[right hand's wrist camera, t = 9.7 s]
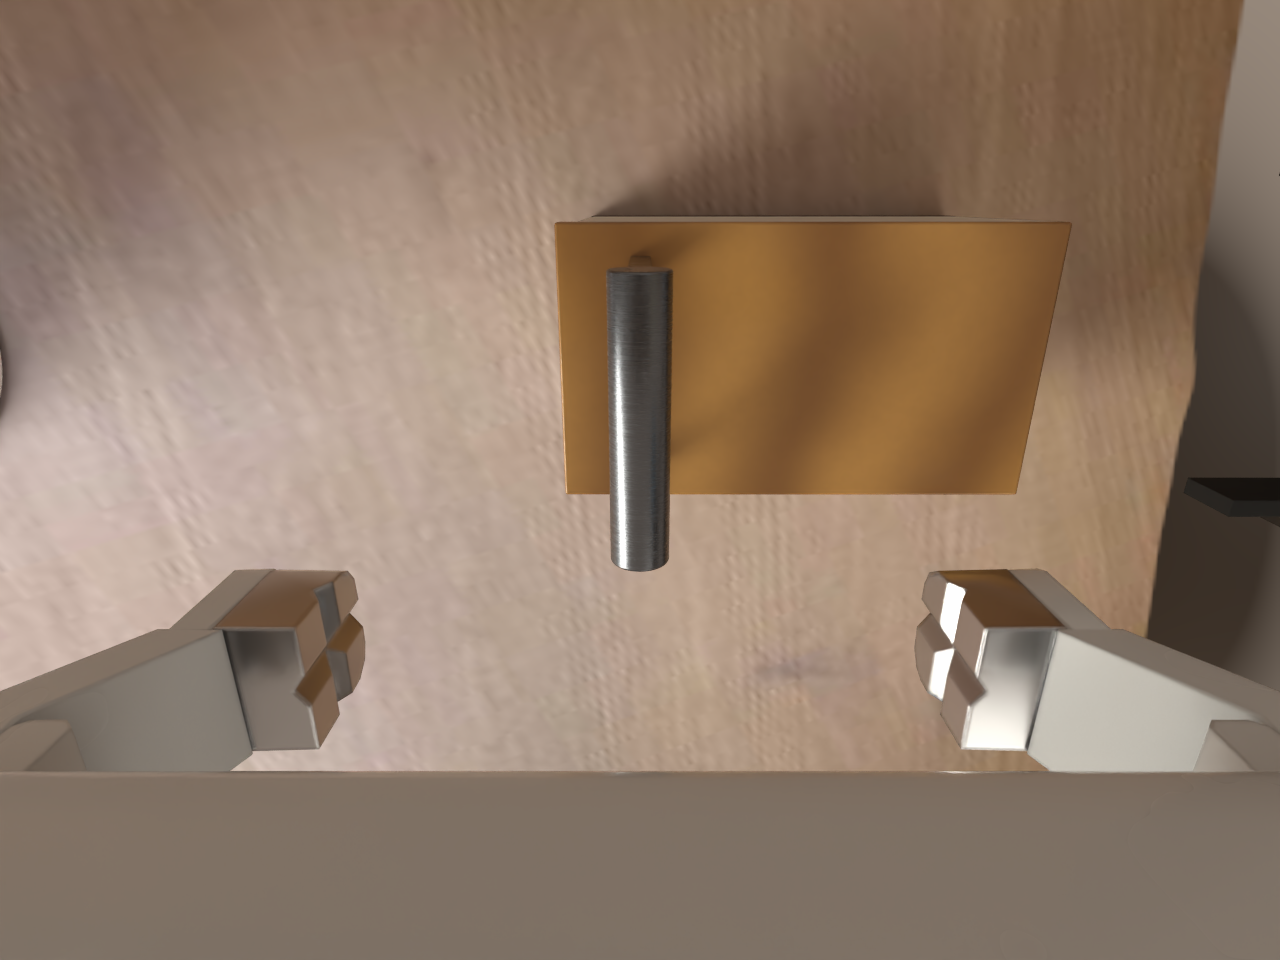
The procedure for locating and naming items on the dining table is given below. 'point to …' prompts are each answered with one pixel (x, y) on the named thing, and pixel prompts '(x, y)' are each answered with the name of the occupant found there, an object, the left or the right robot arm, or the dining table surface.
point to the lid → (797, 360)
